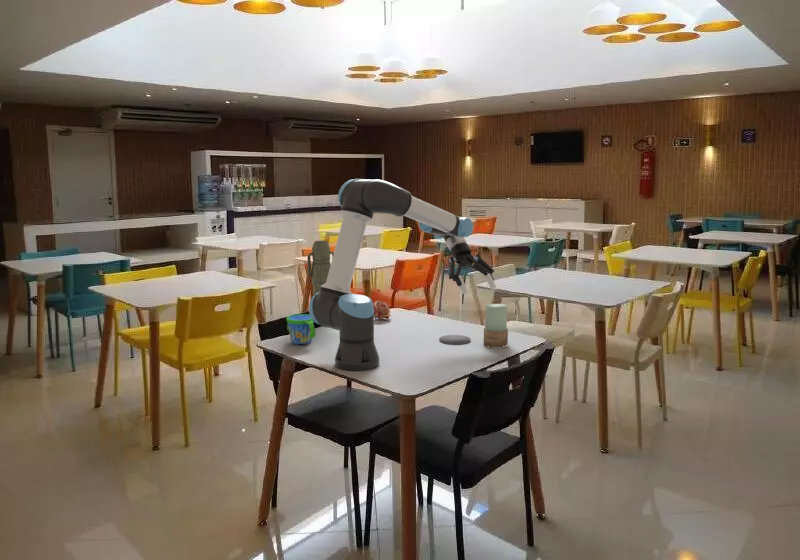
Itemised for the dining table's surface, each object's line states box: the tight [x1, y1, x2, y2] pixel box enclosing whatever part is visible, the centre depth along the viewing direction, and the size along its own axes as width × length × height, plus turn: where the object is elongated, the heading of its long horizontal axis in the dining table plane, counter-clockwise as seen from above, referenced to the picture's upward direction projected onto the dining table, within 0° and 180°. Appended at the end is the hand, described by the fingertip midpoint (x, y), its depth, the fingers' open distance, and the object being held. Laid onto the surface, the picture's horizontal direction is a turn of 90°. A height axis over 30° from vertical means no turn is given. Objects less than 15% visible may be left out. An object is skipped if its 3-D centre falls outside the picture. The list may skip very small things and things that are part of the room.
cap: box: [484, 303, 508, 332], centre depth 245 cm, size 8×8×9 cm
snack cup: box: [285, 313, 316, 346], centre depth 250 cm, size 16×10×10 cm
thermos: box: [306, 240, 334, 297], centre depth 282 cm, size 9×12×35 cm
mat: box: [439, 334, 471, 346], centre depth 253 cm, size 12×12×1 cm
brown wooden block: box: [483, 327, 509, 348], centre depth 246 cm, size 9×9×6 cm
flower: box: [373, 299, 392, 321], centre depth 288 cm, size 10×9×8 cm
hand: (480, 290), depth 253 cm, fingers open, 13 cm apart
